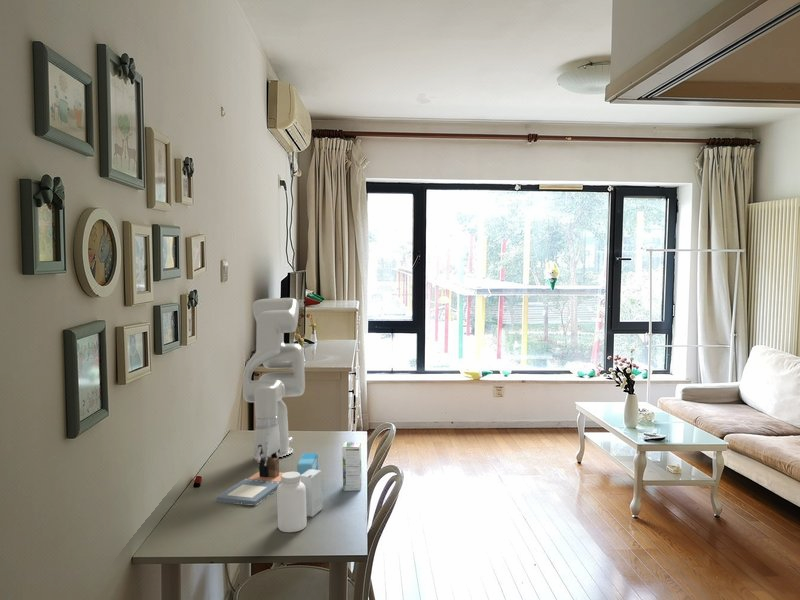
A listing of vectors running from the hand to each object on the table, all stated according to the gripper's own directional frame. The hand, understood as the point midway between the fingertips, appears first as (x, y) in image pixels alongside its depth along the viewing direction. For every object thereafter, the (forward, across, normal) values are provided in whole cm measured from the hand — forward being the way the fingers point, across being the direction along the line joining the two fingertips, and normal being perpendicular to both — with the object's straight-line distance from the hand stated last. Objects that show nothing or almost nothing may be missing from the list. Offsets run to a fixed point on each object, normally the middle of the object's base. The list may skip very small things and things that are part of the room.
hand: (269, 472), depth 206 cm
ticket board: (+3, +12, 0) cm, 13 cm away
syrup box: (+3, 0, +30) cm, 31 cm away
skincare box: (+3, +20, +26) cm, 33 cm away
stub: (+3, 0, 0) cm, 3 cm away
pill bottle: (+3, +30, +25) cm, 39 cm away
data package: (+3, +8, +19) cm, 21 cm away
